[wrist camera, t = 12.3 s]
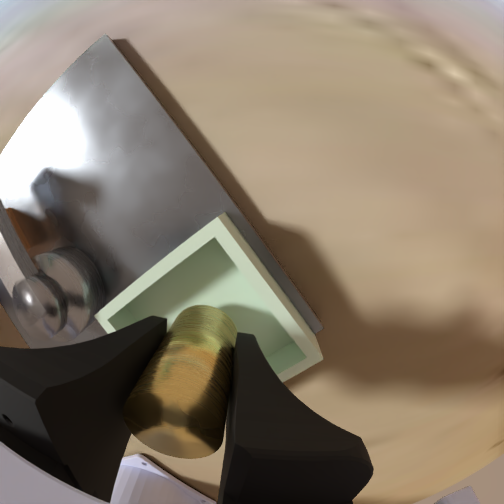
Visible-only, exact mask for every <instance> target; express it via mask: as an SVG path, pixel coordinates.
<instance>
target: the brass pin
mask: <svg viewBox="0 0 504 504" xmlns="http://www.w3.org/2000/svg"><path fill="white" fill-rule="evenodd" d="M236 337H237V329H236V326H235V324H234V322H233V321H232V319H231V318H230V317H229V316H228V315H227V314H226V313H224V312H223V311H221V310H220V309H218V308H215V307H212V306H208V305H194V306H191V307H188V308H186V309H184V310H183V311H182V312H180V313H179V315H178V316H177V317H176V319H175V320H174V322H173V324H172V325H171V327H170V329H169V330H168V332H167V334H166V335H165V337H164V338H163V340H162V342H161V343H160V345H159V347H158V348H157V350H156V352H155V353H154V355H153V357H152V358H151V360H150V362H149V363H148V365H147V367H146V368H145V370H144V372H143V373H142V375H141V377H140V378H139V380H138V382H137V384H136V385H135V387H134V389H133V390H132V392H131V394H130V396H129V397H128V399H127V401H126V402H125V404H124V407H123V418H124V421H125V424H126V426H127V427H128V429H129V430H130V431H131V433H132V434H133V435H134V436H135V437H136V438H137V439H138V440H140V441H141V442H142V443H144V444H145V445H147V446H148V447H150V448H152V449H154V450H155V451H158V452H160V453H163V454H165V455H169V456H172V457H177V458H185V459H195V458H202V457H206V456H209V455H211V454H213V453H215V452H216V451H217V450H218V449H219V448H220V447H221V445H222V442H223V437H224V430H225V423H226V416H227V409H228V403H229V396H230V389H231V381H232V364H233V356H234V350H235V344H236Z"/></svg>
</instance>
